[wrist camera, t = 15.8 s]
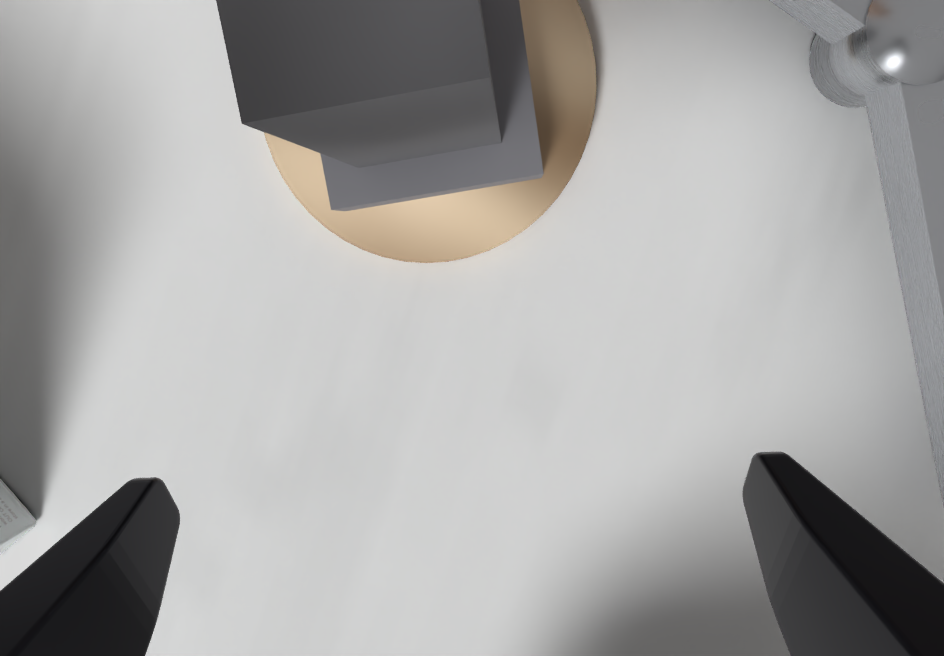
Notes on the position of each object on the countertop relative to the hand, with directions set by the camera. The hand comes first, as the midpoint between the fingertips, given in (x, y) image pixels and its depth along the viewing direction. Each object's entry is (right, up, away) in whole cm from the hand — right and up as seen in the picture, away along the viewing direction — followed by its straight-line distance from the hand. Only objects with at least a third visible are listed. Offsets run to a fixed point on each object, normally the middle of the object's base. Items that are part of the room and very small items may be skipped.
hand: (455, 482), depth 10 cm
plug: (-1, +9, +9) cm, 13 cm away
